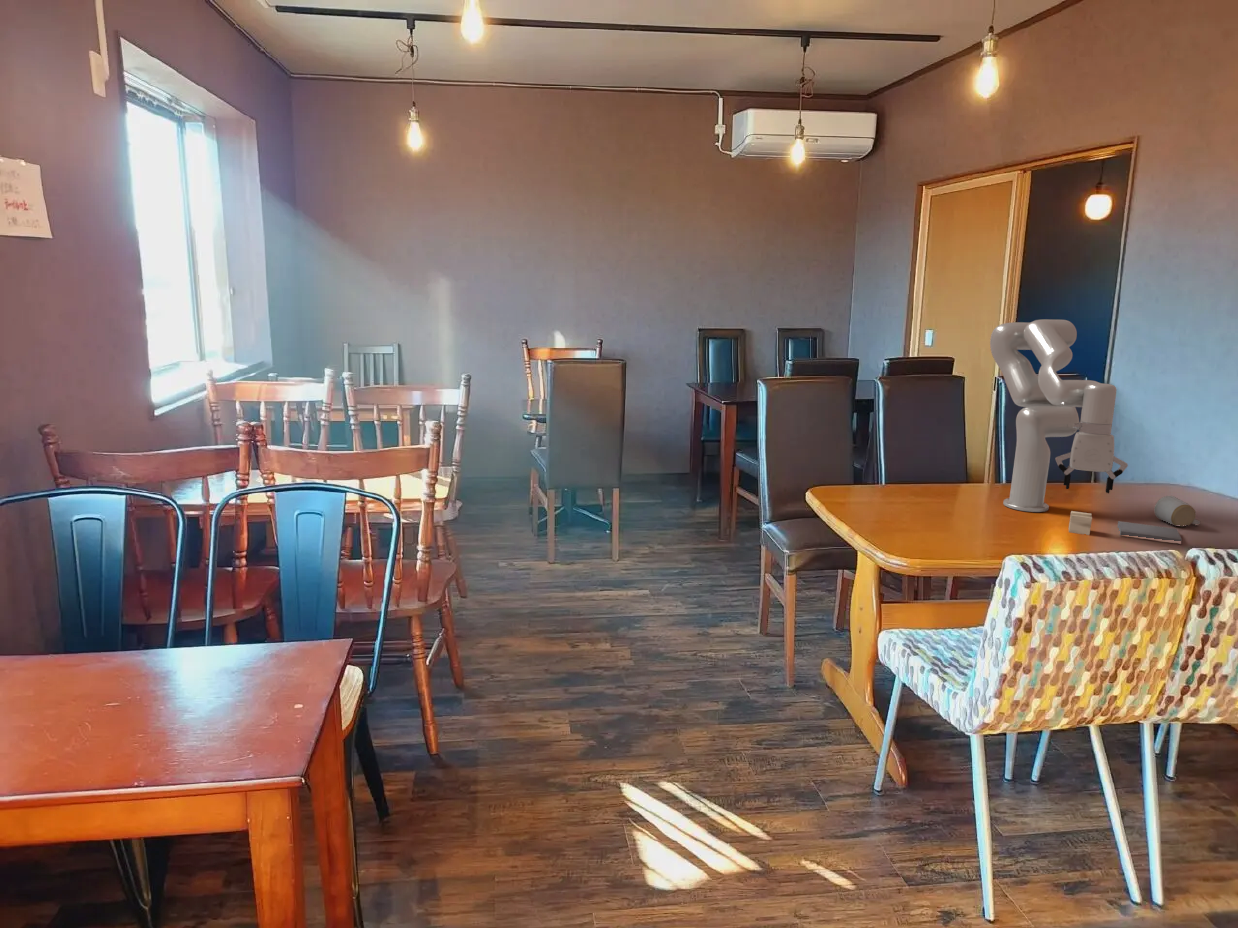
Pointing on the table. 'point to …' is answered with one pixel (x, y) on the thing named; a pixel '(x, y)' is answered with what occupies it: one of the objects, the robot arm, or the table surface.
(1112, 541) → the table surface
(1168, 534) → the serving board
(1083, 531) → the beech cube
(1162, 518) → the ceramic mug
